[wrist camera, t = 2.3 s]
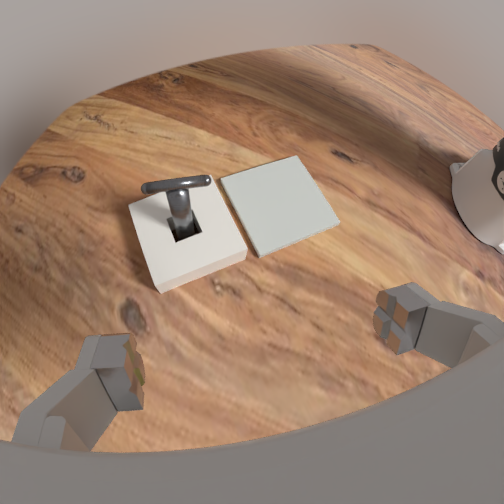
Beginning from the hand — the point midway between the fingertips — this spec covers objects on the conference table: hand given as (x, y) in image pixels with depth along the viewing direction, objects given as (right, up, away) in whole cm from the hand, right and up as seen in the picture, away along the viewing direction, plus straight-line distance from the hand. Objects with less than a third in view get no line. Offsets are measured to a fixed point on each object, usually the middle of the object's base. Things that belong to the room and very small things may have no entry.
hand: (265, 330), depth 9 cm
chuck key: (-8, +4, +25) cm, 26 cm away
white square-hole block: (-8, +4, +24) cm, 26 cm away
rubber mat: (+3, +8, +28) cm, 29 cm away
